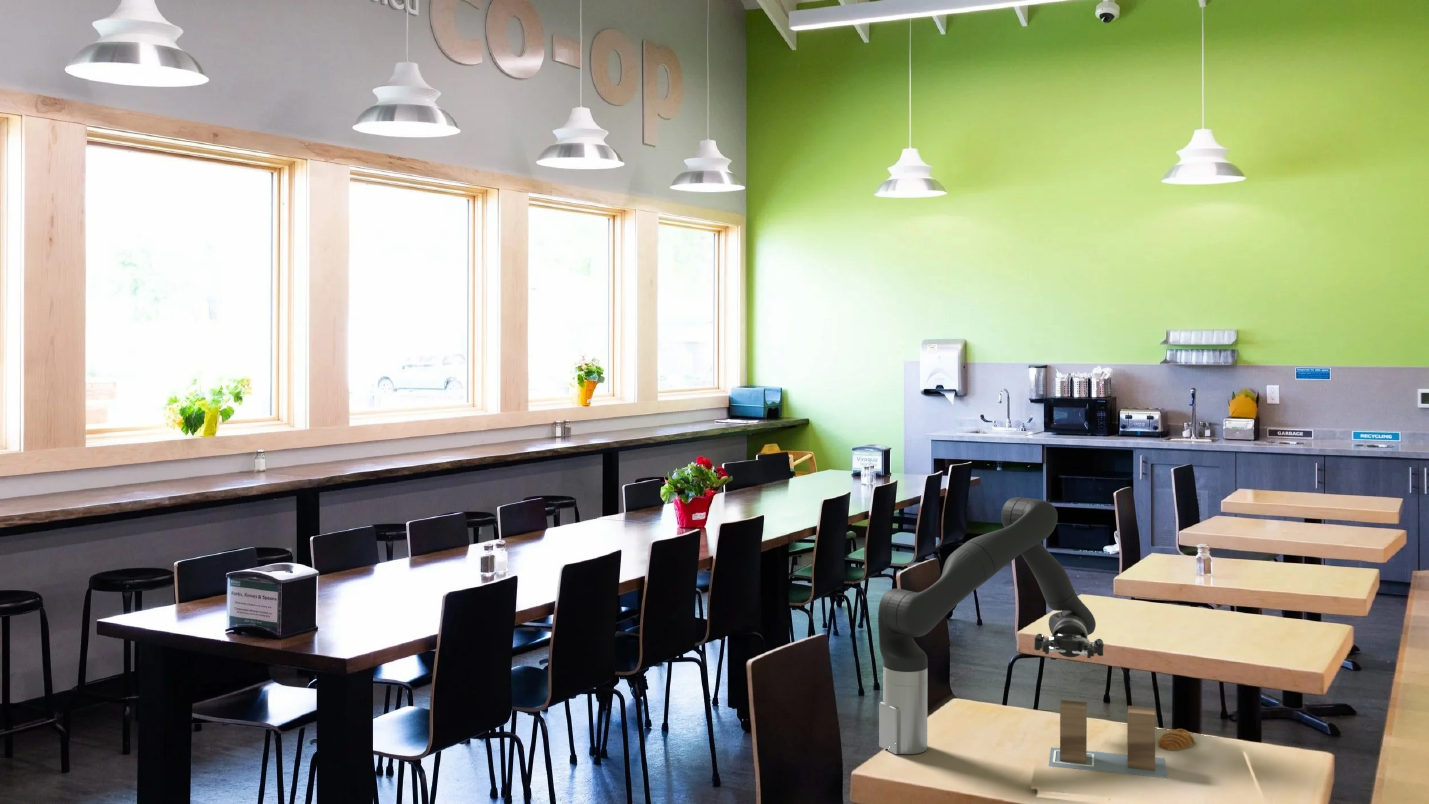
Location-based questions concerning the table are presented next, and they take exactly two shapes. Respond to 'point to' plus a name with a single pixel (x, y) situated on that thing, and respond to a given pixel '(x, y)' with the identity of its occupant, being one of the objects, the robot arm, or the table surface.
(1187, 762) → the table surface
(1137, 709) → the built pillar
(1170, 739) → the pastry
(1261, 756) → the table surface
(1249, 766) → the table surface
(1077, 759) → the pillar
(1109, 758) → the board
